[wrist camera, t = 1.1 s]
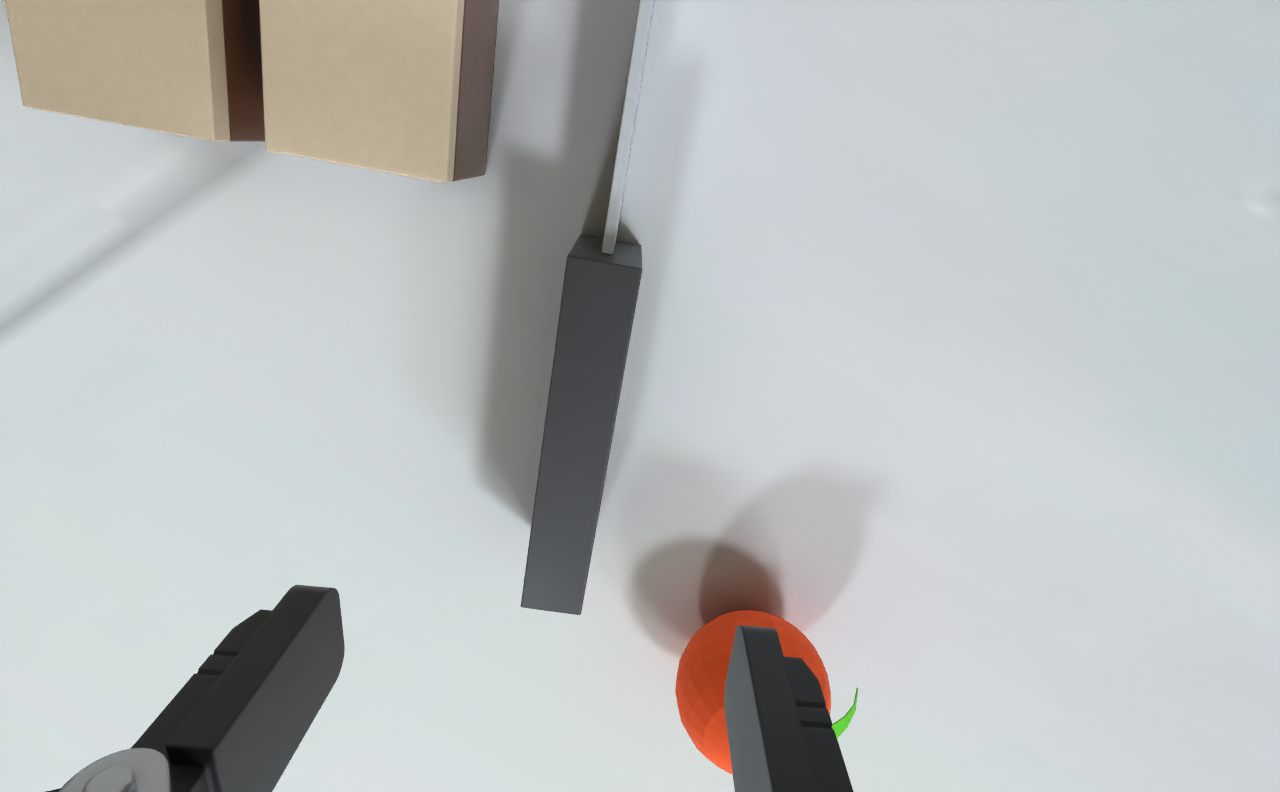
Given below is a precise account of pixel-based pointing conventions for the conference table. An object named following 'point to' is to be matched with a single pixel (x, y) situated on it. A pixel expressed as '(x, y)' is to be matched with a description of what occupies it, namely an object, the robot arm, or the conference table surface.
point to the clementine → (708, 671)
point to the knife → (586, 384)
